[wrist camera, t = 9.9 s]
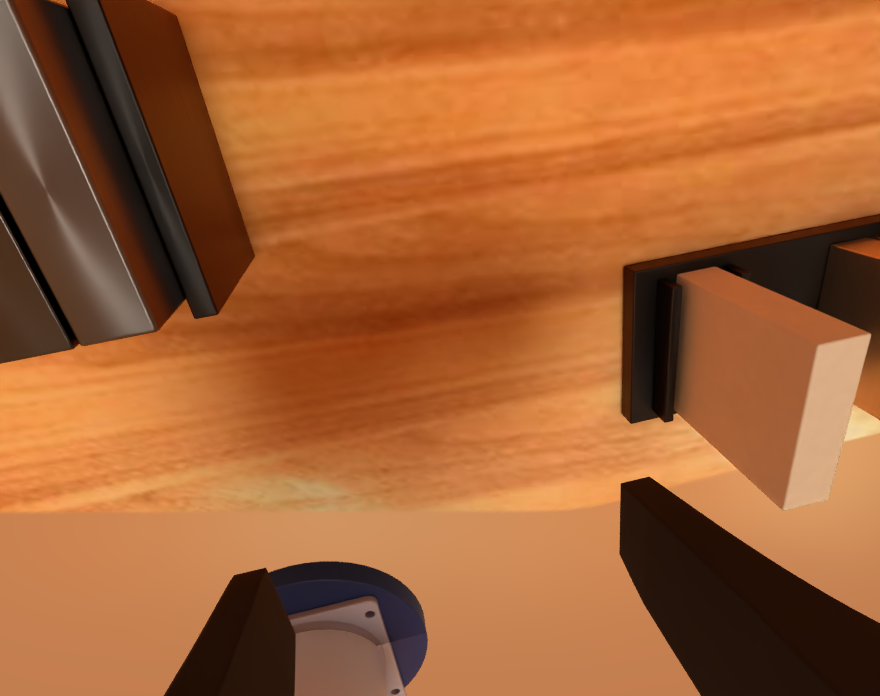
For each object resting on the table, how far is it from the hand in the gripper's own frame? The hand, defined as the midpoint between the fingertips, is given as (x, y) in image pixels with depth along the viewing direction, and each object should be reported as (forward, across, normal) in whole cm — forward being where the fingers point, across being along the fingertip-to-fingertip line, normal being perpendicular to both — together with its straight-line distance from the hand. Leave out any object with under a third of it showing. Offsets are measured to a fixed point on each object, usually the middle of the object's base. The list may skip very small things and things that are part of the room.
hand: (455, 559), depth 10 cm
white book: (+10, -11, +2) cm, 15 cm away
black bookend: (+10, +10, -8) cm, 17 cm away
